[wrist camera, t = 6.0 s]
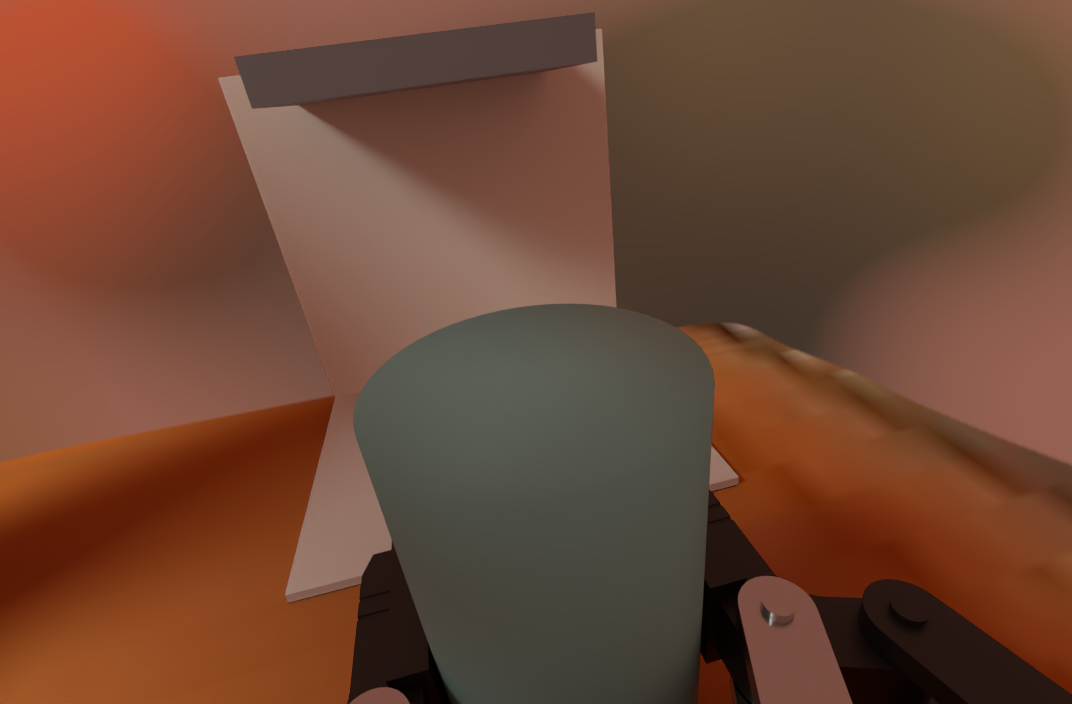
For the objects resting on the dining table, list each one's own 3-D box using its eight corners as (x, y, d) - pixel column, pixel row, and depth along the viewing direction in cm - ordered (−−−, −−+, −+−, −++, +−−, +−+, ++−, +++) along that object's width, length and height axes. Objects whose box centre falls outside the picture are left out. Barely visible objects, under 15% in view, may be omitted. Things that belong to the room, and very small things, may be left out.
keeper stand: (288, 602, 19) (-6, 55, 11) (341, 386, 33) (231, 79, 25) (738, 484, 21) (781, -37, 13) (608, 330, 35) (589, 33, 27)
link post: (509, 962, 10) (328, 554, 5) (479, 706, 15) (366, 337, 9) (733, 875, 11) (804, 433, 6) (641, 656, 15) (628, 285, 10)
